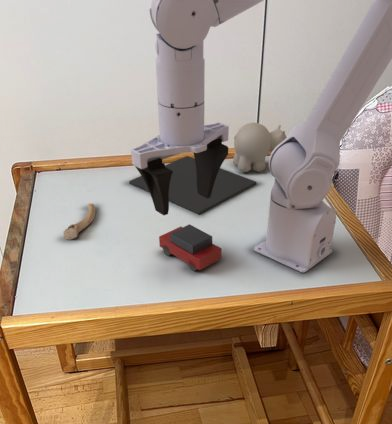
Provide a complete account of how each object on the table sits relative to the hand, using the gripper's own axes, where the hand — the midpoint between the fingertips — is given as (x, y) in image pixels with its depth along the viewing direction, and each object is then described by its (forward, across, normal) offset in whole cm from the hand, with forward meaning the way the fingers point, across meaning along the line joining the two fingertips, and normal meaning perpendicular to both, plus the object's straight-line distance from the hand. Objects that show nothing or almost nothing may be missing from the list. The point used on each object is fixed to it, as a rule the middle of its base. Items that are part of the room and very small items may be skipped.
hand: (183, 203), depth 73 cm
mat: (+9, +18, +20) cm, 28 cm away
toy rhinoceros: (+10, +33, +16) cm, 38 cm away
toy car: (+7, -1, 0) cm, 7 cm away
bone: (+10, -6, +20) cm, 23 cm away
